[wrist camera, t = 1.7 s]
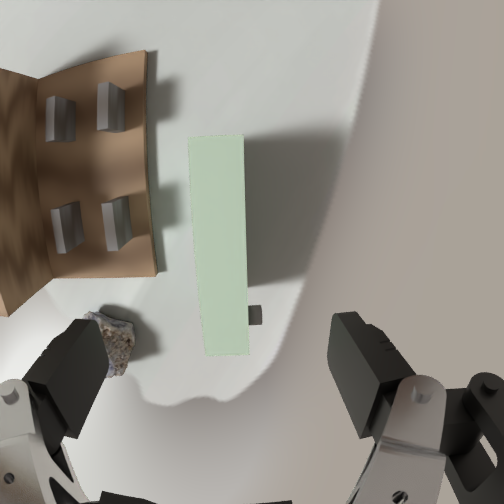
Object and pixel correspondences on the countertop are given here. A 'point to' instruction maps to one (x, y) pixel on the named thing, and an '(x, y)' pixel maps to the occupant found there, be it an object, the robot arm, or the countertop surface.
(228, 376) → the countertop surface
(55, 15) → the countertop surface
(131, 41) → the countertop surface
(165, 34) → the countertop surface
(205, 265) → the cabinet door
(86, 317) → the mineral specimen
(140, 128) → the hinge base
